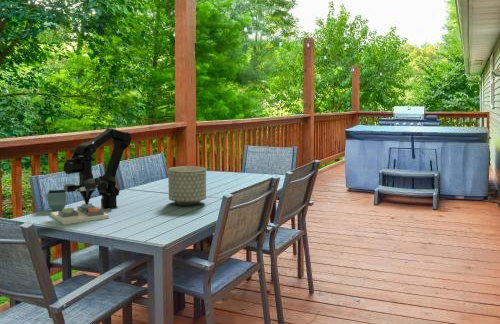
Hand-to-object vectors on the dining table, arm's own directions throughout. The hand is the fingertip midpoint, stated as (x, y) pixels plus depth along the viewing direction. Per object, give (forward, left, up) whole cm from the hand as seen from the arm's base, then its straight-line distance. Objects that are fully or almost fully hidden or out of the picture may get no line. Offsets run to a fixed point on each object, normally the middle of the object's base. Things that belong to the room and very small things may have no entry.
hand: (86, 204), depth 237 cm
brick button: (0, +10, -2) cm, 10 cm away
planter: (-49, +8, -4) cm, 50 cm away
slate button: (0, 0, -3) cm, 3 cm away
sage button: (+10, +5, -2) cm, 12 cm away
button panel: (+5, +5, -4) cm, 8 cm away
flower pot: (+9, -16, -4) cm, 19 cm away
